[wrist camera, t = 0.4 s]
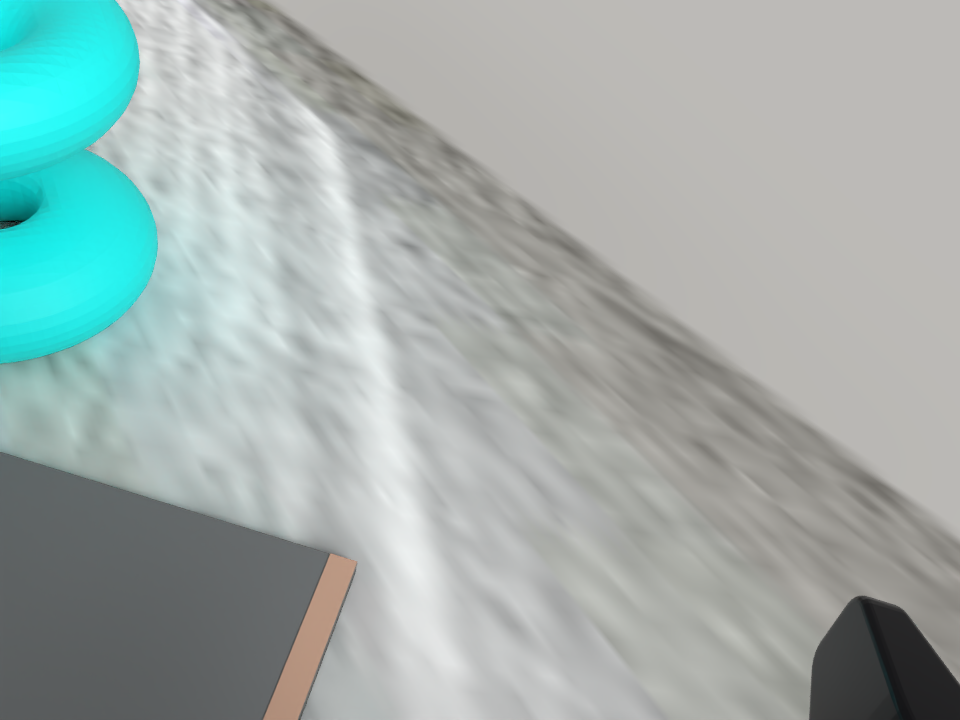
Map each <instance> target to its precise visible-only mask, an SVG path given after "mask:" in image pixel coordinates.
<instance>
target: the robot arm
mask: <svg viewBox="0 0 960 720" xmlns="http://www.w3.org/2000/svg"><path fill="white" fill-rule="evenodd" d="M809 720H960V684H959V683H958V681H957V680H956V679H955V677H954V676H953V675H952V673H951V672H950V670H949V669H948V668H947V666H946V665H945V664H944V662H943V661H942V660H941V658H940V657H939V656H938V654H937V653H936V652H935V650H934V649H933V648H932V646H931V645H930V644H929V642H928V641H927V640H926V638H925V637H924V636H923V634H922V633H921V632H920V630H919V629H918V628H917V626H916V625H915V624H914V622H913V621H912V620H911V618H910V617H909V616H908V614H907V613H906V612H905V611H904V610H903V609H902V608H900V607H898V606H896V605H893V604H890V603H887V602H884V601H880V600H877V599H874V598H871V597H867V596H857V597H855V598H853V599H852V600H851V601H850V602H849V603H848V604H847V606H846V607H845V608H844V610H843V611H842V613H841V614H840V615H839V617H838V618H837V620H836V621H835V622H834V624H833V625H832V627H831V628H830V630H829V631H828V632H827V634H826V635H825V637H824V638H823V639H822V641H821V642H820V644H819V646H818V648H817V650H816V652H815V656H814V659H813V665H812V677H811V695H810V713H809Z"/></svg>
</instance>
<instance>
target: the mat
mask: <svg viewBox="0 0 960 720" xmlns="http://www.w3.org/2000/svg"><path fill="white" fill-rule="evenodd" d="M356 566H357V561H354V560H350V559H347V558H344V557H341V556H337V555H334V554H331V553H330V554H329V553H325V552H322V551H319V550H316V549H312V548H309V547H306V546H303V545H299V544H296V543H293V542H290V541H287V540H283V539H280V538H277V537H274V536H270V535H267V534H264V533H261V532H257V531H254V530H251V529H248V528H245V527H241V526H238V525H235V524H232V523H228V522H225V521H222V520H219V519H215V518H212V517H209V516H206V515H203V514H199V513H196V512H193V511H190V510H186V509H183V508H180V507H177V506H173V505H170V504H167V503H164V502H160V501H157V500H154V499H151V498H148V497H144V496H141V495H138V494H135V493H131V492H128V491H125V490H122V489H118V488H115V487H112V486H109V485H106V484H102V483H99V482H96V481H93V480H89V479H86V478H83V477H80V476H76V475H73V474H70V473H67V472H64V471H60V470H57V469H54V468H51V467H47V466H44V465H41V464H38V463H34V462H31V461H28V460H25V459H22V458H18V457H15V456H12V455H9V454H5V453H2V452H0V720H300V719H301V716H302V714H303V711H304V708H305V706H306V703H307V700H308V698H309V695H310V692H311V690H312V687H313V684H314V682H315V679H316V676H317V674H318V671H319V668H320V666H321V663H322V660H323V658H324V655H325V652H326V650H327V647H328V644H329V642H330V639H331V636H332V634H333V631H334V628H335V626H336V623H337V620H338V618H339V615H340V612H341V610H342V607H343V604H344V602H345V599H346V596H347V594H348V591H349V588H350V586H351V583H352V580H353V578H354V575H355V572H356Z"/></svg>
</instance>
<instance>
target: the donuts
mask: <svg viewBox="0 0 960 720" xmlns="http://www.w3.org/2000/svg"><path fill="white" fill-rule="evenodd" d="M139 65H140V60H139V50H138V44H137V39H136V37H135V34H134V31H133V29H132V26H131V24H130V22H129V20H128V18H127V16H126V14H125V13H124V11H123V10H122V9H121V7H120V6H119V4H118V3H117V2H116V1H115V0H0V221H12V220H18V221H24V222H22V223H20V224H18V225H16V226H13V227H10V228H6V229H0V364H2V363H11V362H18V361H24V360H29V359H33V358H38V357H42V356H45V355H49V354H52V353H55V352H58V351H61V350H64V349H67V348H70V347H72V346H74V345H77V344H79V343H81V342H83V341H85V340H87V339H89V338H91V337H93V336H94V335H96V334H98V333H99V332H101V331H103V330H104V329H106V328H107V327H109V326H110V325H111V324H113V323H114V322H115V321H116V320H118V319H119V318H120V317H121V316H122V315H123V314H124V313H125V312H126V311H127V310H128V309H129V308H130V307H131V306H132V305H133V304H134V302H135V301H136V300H137V299H138V297H139V296H140V295H141V293H142V292H143V290H144V289H145V287H146V285H147V283H148V281H149V279H150V277H151V275H152V272H153V269H154V265H155V261H156V257H157V250H158V241H157V229H156V224H155V221H154V217H153V215H152V212H151V210H150V207H149V205H148V203H147V201H146V200H145V198H144V197H143V195H142V194H141V192H140V191H139V190H138V188H137V187H136V186H135V185H134V183H133V182H132V181H131V180H130V179H129V178H128V177H127V176H126V175H125V174H123V173H122V172H121V171H120V170H119V169H117V168H116V167H115V166H113V165H112V164H110V163H109V162H107V161H106V160H105V159H103V158H101V157H99V156H98V155H96V154H94V153H92V152H90V151H87V150H85V148H87V147H88V146H90V145H92V144H93V143H94V142H96V141H97V140H98V139H99V138H101V137H102V136H103V135H104V134H105V133H106V132H107V131H108V130H109V129H110V128H111V127H112V126H113V125H114V124H115V122H116V121H117V120H118V119H119V118H120V117H121V115H122V114H123V113H124V111H125V110H126V108H127V106H128V104H129V102H130V100H131V98H132V96H133V93H134V91H135V88H136V85H137V80H138V74H139Z"/></svg>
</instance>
